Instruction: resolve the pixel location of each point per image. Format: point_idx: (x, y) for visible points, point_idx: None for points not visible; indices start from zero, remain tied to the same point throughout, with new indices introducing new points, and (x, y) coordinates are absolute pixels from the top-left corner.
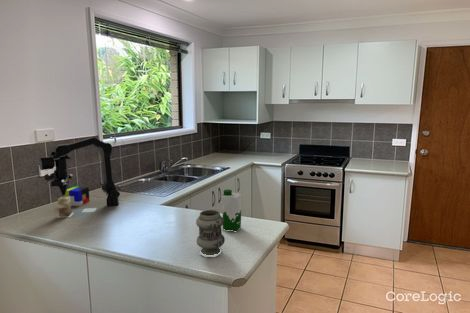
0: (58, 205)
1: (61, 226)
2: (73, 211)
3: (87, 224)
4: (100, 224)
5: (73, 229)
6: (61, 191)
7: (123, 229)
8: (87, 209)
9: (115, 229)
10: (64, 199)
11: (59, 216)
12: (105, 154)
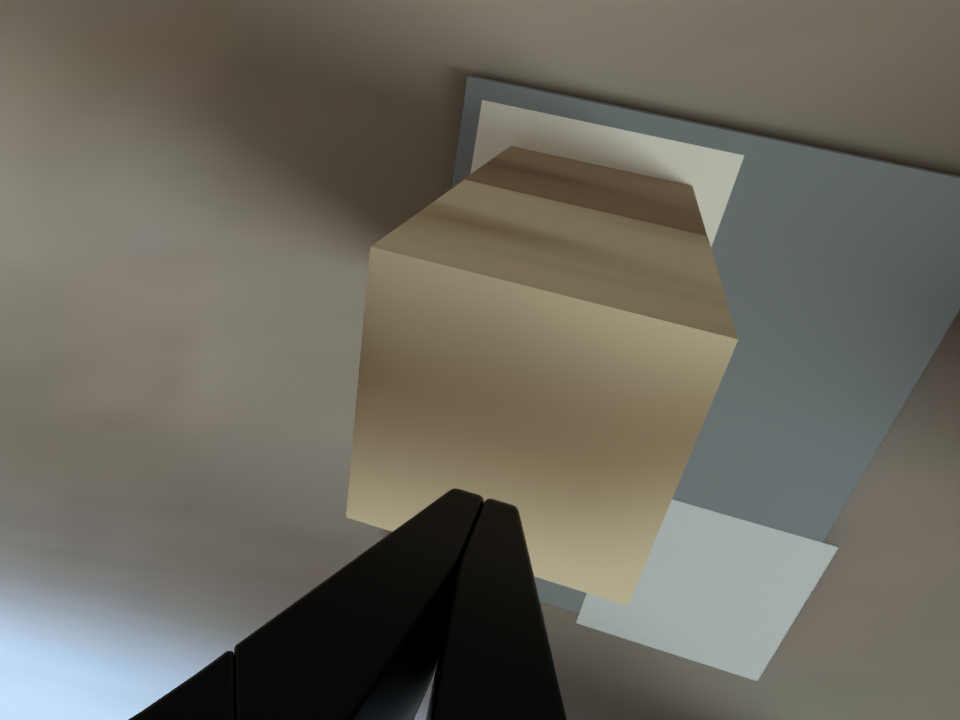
0: (443, 198)
1: (106, 219)
2: (752, 378)
3: (153, 494)
4: (144, 590)
5: (14, 360)
6: (324, 595)
7: (30, 689)
8: (747, 573)
9: (28, 652)
10: (358, 441)
11: (508, 149)
12: None
